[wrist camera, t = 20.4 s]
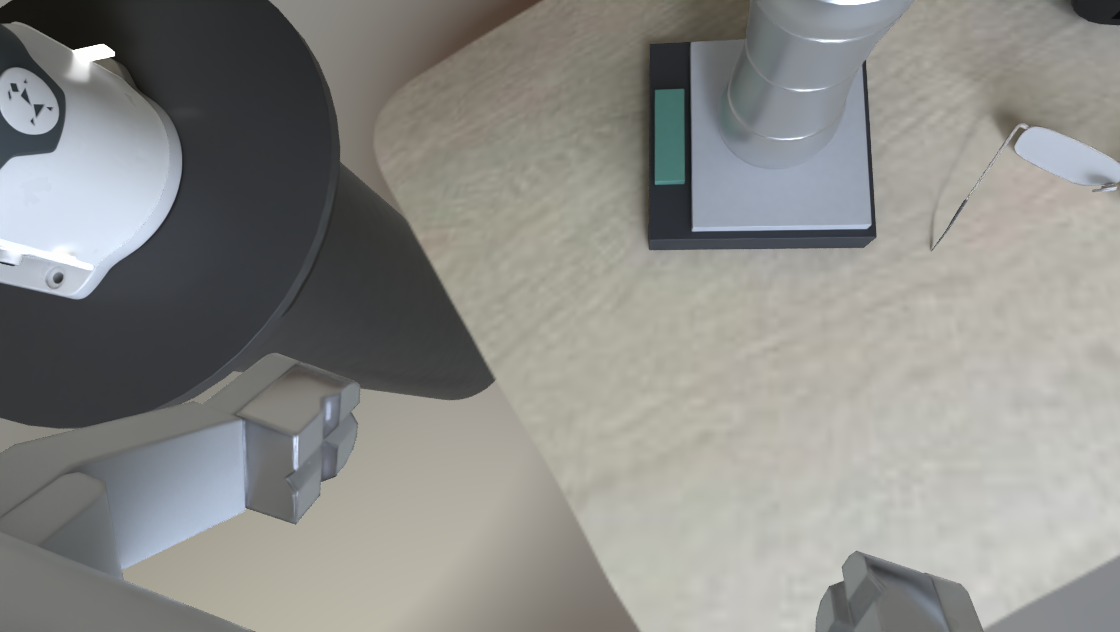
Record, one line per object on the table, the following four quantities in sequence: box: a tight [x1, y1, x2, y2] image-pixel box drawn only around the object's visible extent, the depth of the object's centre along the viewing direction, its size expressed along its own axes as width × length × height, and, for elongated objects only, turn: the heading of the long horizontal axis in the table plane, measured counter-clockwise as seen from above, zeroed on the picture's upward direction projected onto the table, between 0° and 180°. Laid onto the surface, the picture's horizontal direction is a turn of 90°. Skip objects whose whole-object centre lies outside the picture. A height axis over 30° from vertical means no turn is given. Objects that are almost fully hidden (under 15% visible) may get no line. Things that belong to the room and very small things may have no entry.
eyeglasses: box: [931, 123, 1120, 251], centre depth 36 cm, size 14×8×4 cm, turn 56°
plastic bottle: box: [717, 0, 914, 169], centre depth 28 cm, size 6×7×20 cm
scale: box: [649, 39, 876, 250], centre depth 40 cm, size 13×13×3 cm
